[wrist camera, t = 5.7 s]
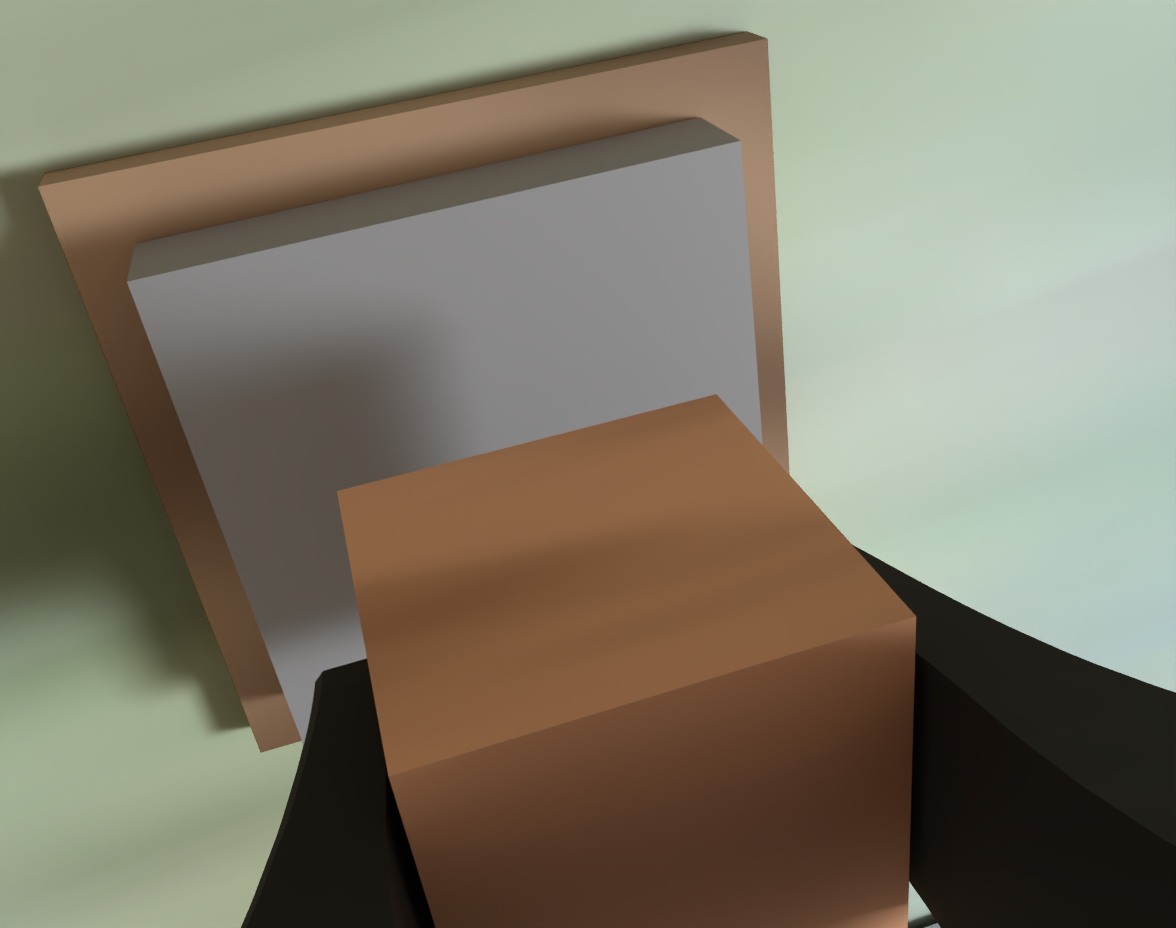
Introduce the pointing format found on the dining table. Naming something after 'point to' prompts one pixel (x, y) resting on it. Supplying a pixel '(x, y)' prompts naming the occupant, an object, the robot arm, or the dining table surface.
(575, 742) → the terracotta cube
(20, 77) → the dining table surface
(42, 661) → the dining table surface
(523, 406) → the slate top slab
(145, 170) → the walnut base slab
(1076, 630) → the dining table surface
